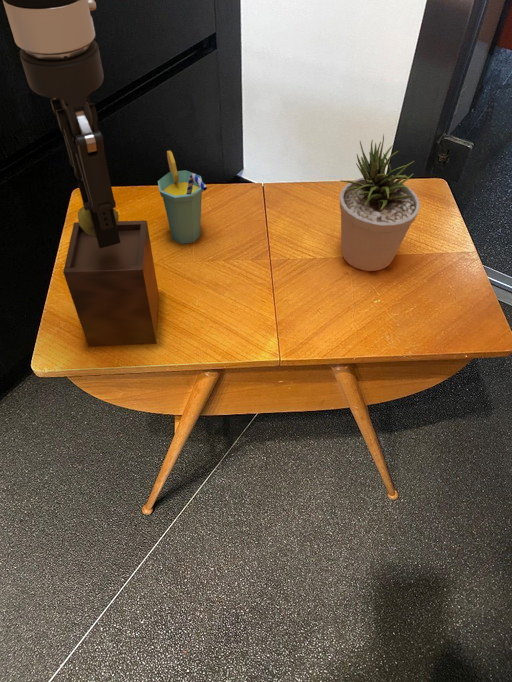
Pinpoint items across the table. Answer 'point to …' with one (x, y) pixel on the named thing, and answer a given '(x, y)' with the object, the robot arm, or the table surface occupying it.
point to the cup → (182, 202)
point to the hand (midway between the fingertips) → (104, 233)
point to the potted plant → (375, 212)
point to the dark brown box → (114, 286)
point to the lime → (90, 221)
